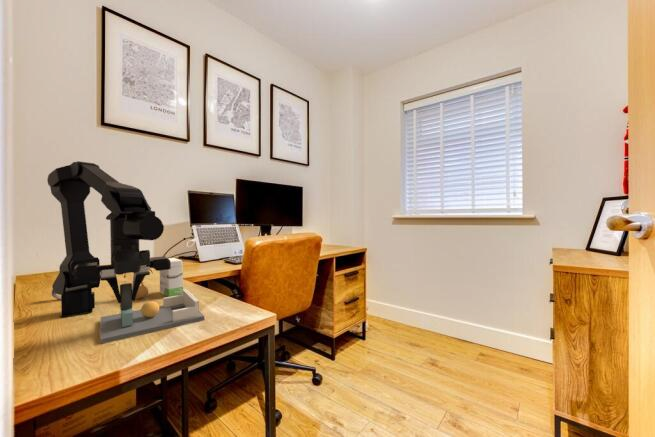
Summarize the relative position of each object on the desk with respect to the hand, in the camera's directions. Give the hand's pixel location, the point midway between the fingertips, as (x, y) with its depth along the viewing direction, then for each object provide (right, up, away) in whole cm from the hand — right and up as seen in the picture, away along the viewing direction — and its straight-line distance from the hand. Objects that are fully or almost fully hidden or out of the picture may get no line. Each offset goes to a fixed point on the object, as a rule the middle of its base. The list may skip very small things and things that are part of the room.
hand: (126, 301), depth 69 cm
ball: (+4, -3, +3) cm, 6 cm away
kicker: (0, -5, 0) cm, 5 cm away
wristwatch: (-35, -6, +21) cm, 41 cm away
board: (+4, -6, +4) cm, 8 cm away
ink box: (-4, -6, +28) cm, 28 cm away
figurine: (-12, -6, +23) cm, 26 cm away
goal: (+9, -5, +8) cm, 13 cm away
